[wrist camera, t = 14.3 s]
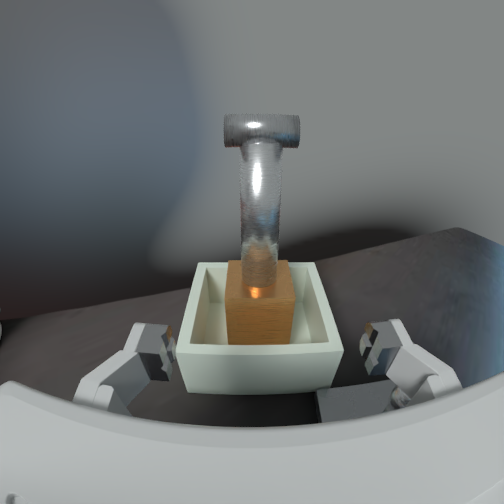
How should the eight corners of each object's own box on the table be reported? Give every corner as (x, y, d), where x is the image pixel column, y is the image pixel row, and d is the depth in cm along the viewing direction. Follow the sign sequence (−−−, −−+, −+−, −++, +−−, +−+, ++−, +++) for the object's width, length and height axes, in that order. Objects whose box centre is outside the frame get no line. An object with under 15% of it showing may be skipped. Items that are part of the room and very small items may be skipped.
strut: (229, 358, 25) (216, 115, 15) (231, 319, 30) (224, 113, 20) (287, 357, 26) (310, 117, 15) (282, 318, 30) (295, 114, 20)
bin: (187, 392, 23) (175, 352, 20) (203, 303, 34) (198, 262, 31) (328, 390, 23) (344, 350, 20) (308, 303, 34) (314, 262, 31)
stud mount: (328, 495, 14) (361, 473, 10) (313, 396, 22) (330, 344, 19) (436, 464, 14) (487, 424, 10) (407, 381, 23) (438, 330, 19)
